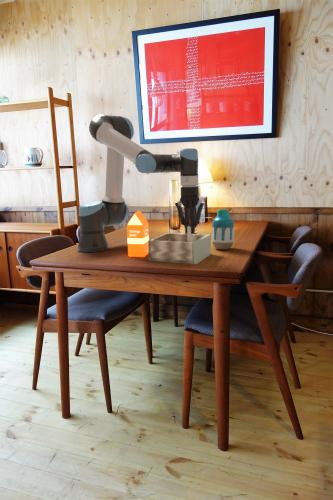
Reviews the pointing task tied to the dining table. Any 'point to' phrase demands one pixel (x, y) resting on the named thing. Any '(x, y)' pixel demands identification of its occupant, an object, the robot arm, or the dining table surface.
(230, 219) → the vase
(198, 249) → the panel
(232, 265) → the dining table surface
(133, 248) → the orange juice
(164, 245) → the crate
